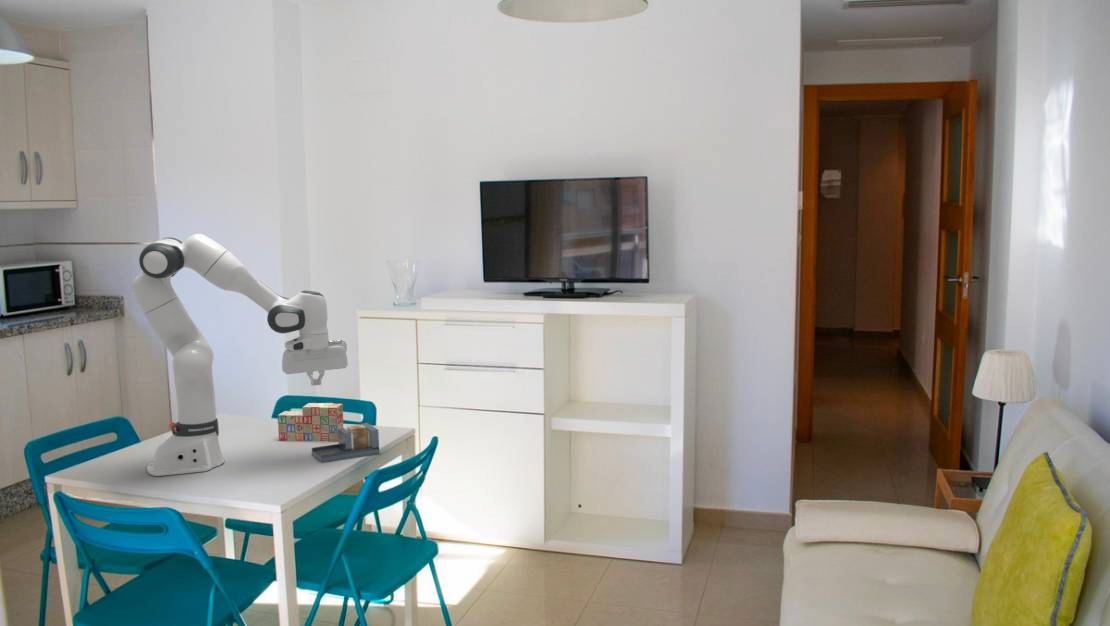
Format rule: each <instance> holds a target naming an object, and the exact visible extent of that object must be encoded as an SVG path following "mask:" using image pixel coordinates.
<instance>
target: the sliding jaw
mask: <svg viewBox="0 0 1110 626" xmlns="http://www.w3.org/2000/svg"><path fill="white" fill-rule="evenodd" d="M337 443H338V444H339V447H340V448H341V449H343V450H344V451H350V450H354V446H353V433H351V432H350V431H348V430H347V428H344V427H343V428H340V429H338V442H337Z"/></svg>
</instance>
